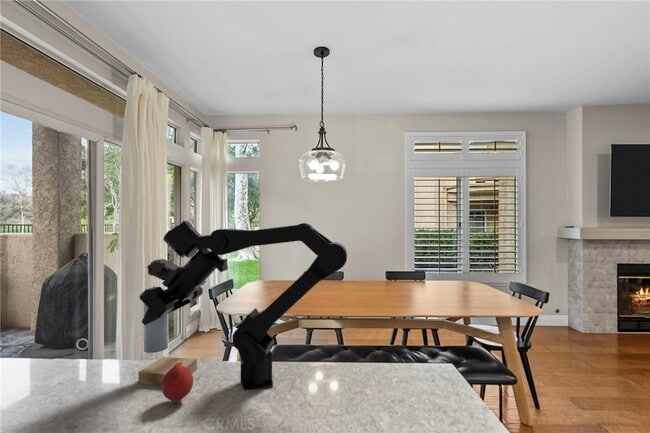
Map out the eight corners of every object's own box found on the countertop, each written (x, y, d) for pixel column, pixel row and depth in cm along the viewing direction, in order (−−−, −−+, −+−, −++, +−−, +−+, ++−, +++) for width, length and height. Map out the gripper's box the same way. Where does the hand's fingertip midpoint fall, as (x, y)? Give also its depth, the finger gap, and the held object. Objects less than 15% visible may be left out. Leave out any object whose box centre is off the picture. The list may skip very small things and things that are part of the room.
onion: (181, 411, 66) (181, 369, 66) (154, 408, 67) (155, 366, 68) (198, 396, 72) (198, 357, 72) (173, 393, 73) (173, 355, 73)
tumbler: (172, 344, 83) (171, 289, 83) (163, 352, 78) (163, 294, 78) (148, 345, 83) (148, 290, 83) (138, 353, 77) (138, 295, 77)
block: (196, 369, 85) (196, 359, 85) (175, 386, 76) (175, 374, 76) (162, 366, 87) (163, 356, 87) (138, 383, 78) (138, 372, 78)
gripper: (190, 244, 90) (149, 287, 90) (148, 250, 71) (97, 304, 72) (220, 275, 89) (179, 318, 90) (185, 289, 70) (134, 343, 71)
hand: (150, 320), depth 80 cm, fingers closed on tumbler, 5 cm apart
